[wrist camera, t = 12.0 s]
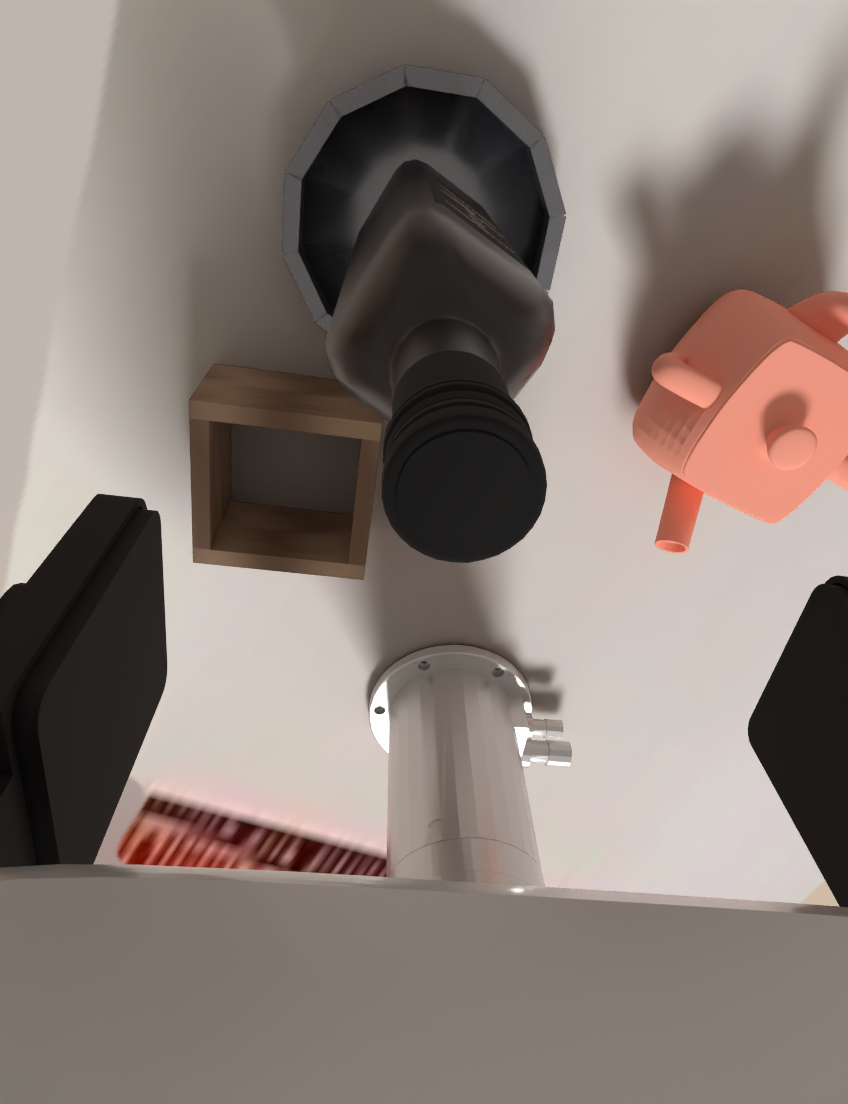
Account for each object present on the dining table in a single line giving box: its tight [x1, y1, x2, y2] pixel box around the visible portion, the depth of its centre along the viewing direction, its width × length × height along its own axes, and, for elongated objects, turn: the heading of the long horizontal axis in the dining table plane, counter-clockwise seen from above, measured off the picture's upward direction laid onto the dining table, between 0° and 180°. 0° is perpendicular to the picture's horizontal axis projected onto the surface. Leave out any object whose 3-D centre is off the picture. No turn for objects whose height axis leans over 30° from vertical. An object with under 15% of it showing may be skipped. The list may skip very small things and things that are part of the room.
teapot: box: [633, 289, 848, 553], centre depth 40 cm, size 14×12×10 cm
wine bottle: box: [324, 159, 555, 563], centre depth 26 cm, size 6×6×30 cm
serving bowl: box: [282, 65, 566, 332], centre depth 39 cm, size 14×14×3 cm
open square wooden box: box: [189, 364, 383, 580], centre depth 44 cm, size 10×10×6 cm
